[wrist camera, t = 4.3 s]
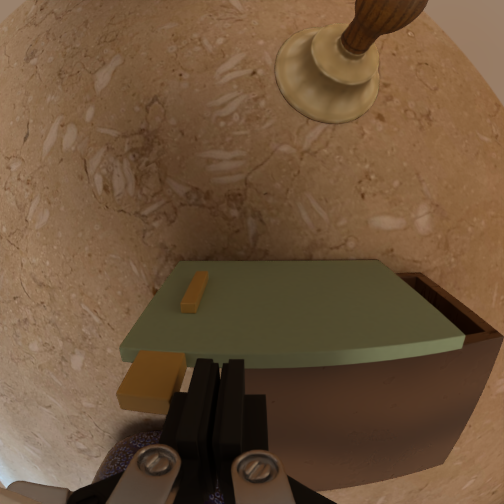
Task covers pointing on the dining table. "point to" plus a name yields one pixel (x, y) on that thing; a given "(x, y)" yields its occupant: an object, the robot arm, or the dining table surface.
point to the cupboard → (378, 405)
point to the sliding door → (275, 322)
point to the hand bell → (340, 61)
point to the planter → (124, 453)
